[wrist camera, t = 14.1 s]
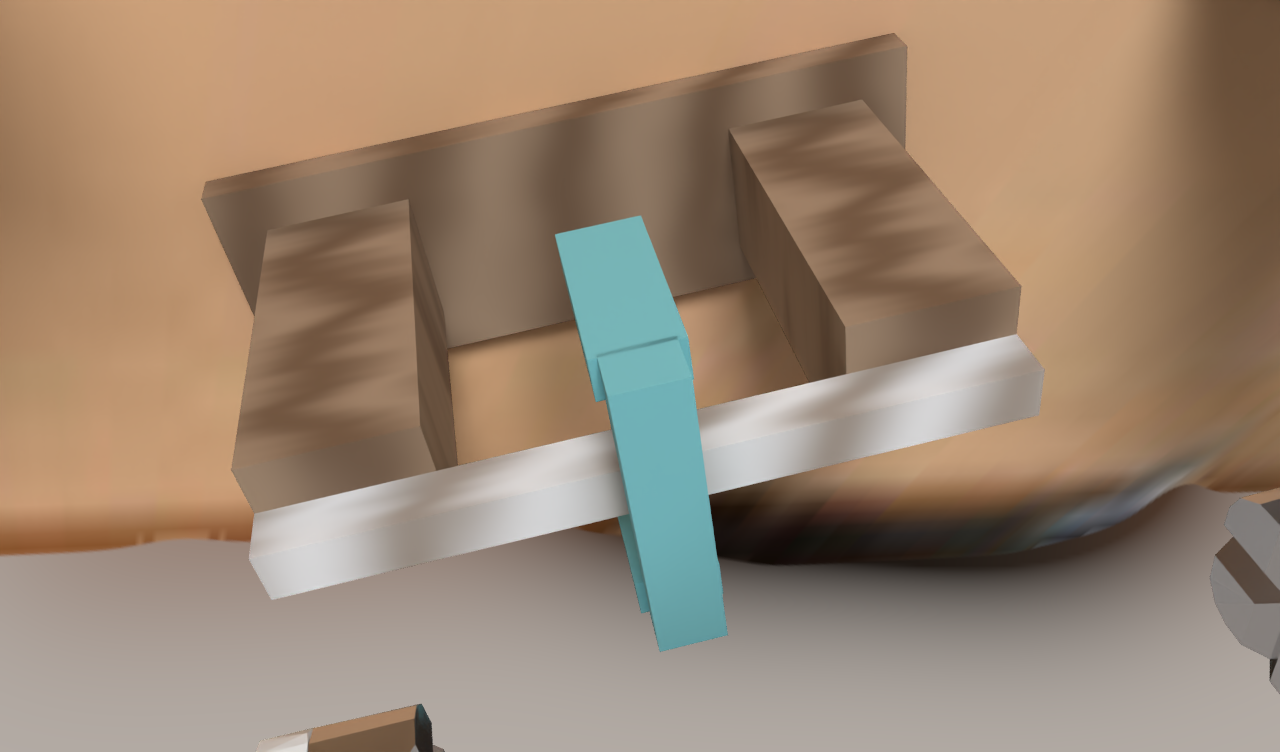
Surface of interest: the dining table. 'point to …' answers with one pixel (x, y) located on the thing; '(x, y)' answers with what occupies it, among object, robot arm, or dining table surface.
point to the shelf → (537, 296)
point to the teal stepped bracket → (648, 424)
